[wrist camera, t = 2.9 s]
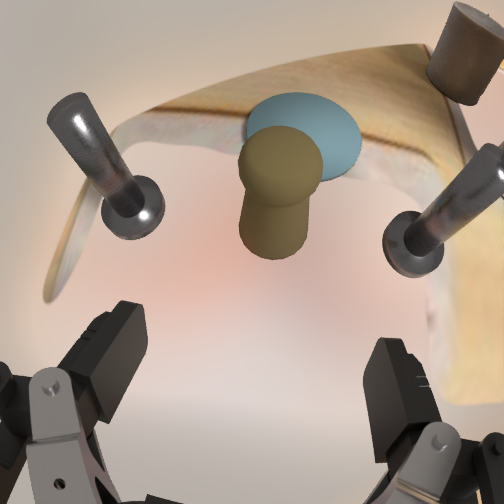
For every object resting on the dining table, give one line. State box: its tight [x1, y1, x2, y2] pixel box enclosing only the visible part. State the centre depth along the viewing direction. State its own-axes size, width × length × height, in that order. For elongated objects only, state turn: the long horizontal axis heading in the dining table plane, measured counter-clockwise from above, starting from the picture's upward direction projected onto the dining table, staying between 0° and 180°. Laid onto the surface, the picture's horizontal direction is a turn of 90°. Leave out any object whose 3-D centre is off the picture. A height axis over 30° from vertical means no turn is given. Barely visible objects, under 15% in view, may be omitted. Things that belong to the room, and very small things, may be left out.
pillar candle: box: [426, 2, 504, 106], centre depth 29 cm, size 10×10×15 cm
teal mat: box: [246, 92, 362, 182], centre depth 31 cm, size 12×12×1 cm
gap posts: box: [47, 92, 504, 278], centre depth 21 cm, size 32×6×14 cm, turn 82°
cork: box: [238, 125, 323, 260], centre depth 22 cm, size 6×6×11 cm
